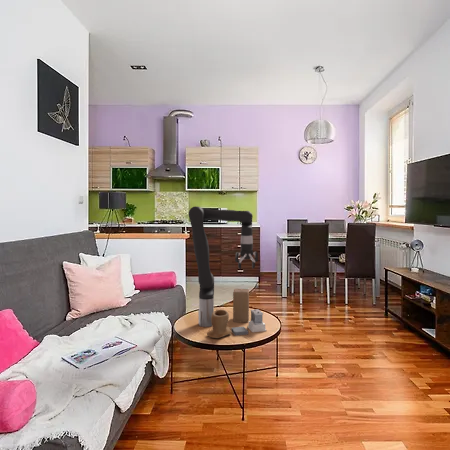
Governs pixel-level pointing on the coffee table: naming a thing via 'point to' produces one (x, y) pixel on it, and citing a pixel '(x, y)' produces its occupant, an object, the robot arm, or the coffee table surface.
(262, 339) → the coffee table surface
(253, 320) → the housing
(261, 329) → the stand
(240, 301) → the block
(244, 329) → the stand
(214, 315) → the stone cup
